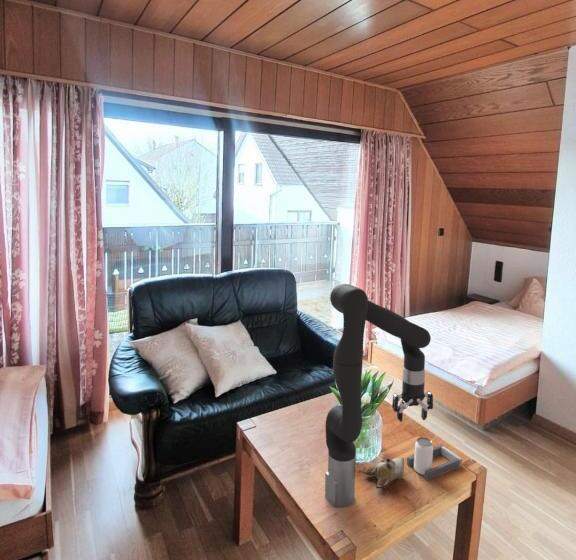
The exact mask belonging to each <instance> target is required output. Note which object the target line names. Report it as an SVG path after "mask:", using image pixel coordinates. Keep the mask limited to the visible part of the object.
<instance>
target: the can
mask: <svg viewBox="0 0 576 560" xmlns="http://www.w3.org/2000/svg"><path fill="white" fill-rule="evenodd" d="M433 448H434V443H433V441H432V440H431V439H430V438H427V437H425V436H424V437H423V436H422V437H421V436H420V437H418V438H417V439H416V441H415V443H414V455H415V456H414V465H413V469H414V471H415V472H416V473H417V474H419V475H424V476H425V471H427V470H429V469H432V468H433V458H434V457H433Z"/></svg>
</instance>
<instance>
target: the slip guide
mask: <svg viewBox="0 0 576 560" xmlns="http://www.w3.org/2000/svg"><path fill="white" fill-rule="evenodd" d="M439 455H441V456H443V457H445V458H446V459H448V460H449V461H447V462H444V463H442V464H439V465H437V466H435V467H432V469H429V470H427V471H425V475H424V480H426V481H428V480H431V479H433V478H435V477H439V476H441V475H443V474H445V473H448V472H450V471H452V470H454V469H457V468H459V467H462V463H463V459H462V458H461V456H459V455H457V454H456V453H454V452H453V451H451V450H449V449H448V448H447V447H445V446H444V445H442V444H440V445H437V446H435V447H434V446H433V458H434V457H436V456H439ZM414 456H415V454H414V455H410V456H408V457H406V465H407V466H408V467H411V466H414Z"/></svg>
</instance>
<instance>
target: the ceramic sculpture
mask: <svg viewBox="0 0 576 560" xmlns="http://www.w3.org/2000/svg"><path fill="white" fill-rule="evenodd" d="M362 474H364V475H367V476H370V477H372V476H375V477H376V479H377V483H376V487H375V488H376V489H385V488H387V487H388V486H389V485H390V483H392V481H393V480H396V479H399V480H400V479H401V480H402V479H403V478H404V474H405V457H396V458H393V459H392V458H388V457H387V458H385V459H384V460H380V461H378V462H377V463H376V464H374V465H372V466H370V467H368V468H367V469H366V470H363V471H362Z"/></svg>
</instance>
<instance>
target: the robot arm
mask: <svg viewBox="0 0 576 560" xmlns="http://www.w3.org/2000/svg"><path fill="white" fill-rule="evenodd" d="M329 297H330V299H329V300H330V303H331V306H332V307H333V308H334V309H335V310H336V311H338V312H339V313H341V314H342V315H343V316H342V317H343V324H342V325H343V330H342V334H341V337H340V340H339V342H337V345H336V347H335V350H334V352H333V359H332V360H333V361H332V366H333V367H332V373H333V374H332V375H333V378H334V381H335V386H336V388H337V391H338V393H339V396H340V399H341V405H339V404H337V405H335V406H333V407H331V409H330V410H329V411H328V412H327V415H326V419H325V443H326V447H327V450H328V451H327V456H328V457H327V471H326V472H325V479H324V482H325V483H324V484H325V485H324V497H325V498H326V500H327V501H328V502H329V503H330V504H331V505H332V506H333V508H337V507H338V508H345V507H350V506H351V505H352V504H353V503H354V502H355V487H356V485H355V484H356V462H357V461H356V460H357V459H356V458H357V457H356V456H357V450H356V449H357V448H356V444H355V443H354V442H355V441H356V440H357V439H358V438H359V437H360V434H361V431H362V429H363V427H362V426H363V413H362V377H363V376H362V375H363V361H364V360H363V359H364V358H363V357H364V355H363V353H364V352H363V351H364V350H363V349H364V341H365V339H364V337H365V327H366V321H367V322H368V323H370V324H372V325H374V326H375V327H377V328H378V329H380V330H381V331H383V332H386V334H387V333H388V334H389V335H391V336H393V337H395V338H399V339H400V343H401V348H402V352H403V355H404V357H403V370H402V376H401V377H402V384H401V385H402V387H401V389H402V390H401V394H397V392H396V393H393V394H392V403H391V404H392V405H391V408H392V410H393V411H394V412H395V413H396V418H397V420H398V421H399V422H400V423H402V422H403V415H404V414H403V412H404V410H406V409H407V408H408V407H413V406H414V407H418V406H419V405H420V407H422V408H421V414H420V415H421V416H420V417H421V419H422V421H426V419H427V418H428V411H429V410H433V409H434V394H432V392H431V391H430V390H427V391H426V392H425V382H426V381H425V379H426V372H425V365H426V364H425V363H426V358H425V357H426V356H425V353H424V352H423V351H422V350H421V349H424V348H427V346H429V345H430V343H431V339H432V337H431V334H430V332H429V331H428V330H427V329H426V328H425V327H422V326H419V325H418V324H416V323H413V322H411V321H410V320H408V319H406V318H405V317H403V316H402V315H400V314H398V313H396V312H395V311H392V310H390V309H389V308H386V307H383V306H381V305H380V304H377V303H374V302H372V301H370V300H369V299H368V295H367V293H366V292H365V290H363V289H361V288H360V287H357V286H355V285H352V284H347V283H340V284H338V285H336V286H335V287H334V288H333V289H332V290H331V292H330V296H329ZM425 398H426V404H425V403H424V402H423V400H425ZM399 402H400V403H399Z"/></svg>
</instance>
